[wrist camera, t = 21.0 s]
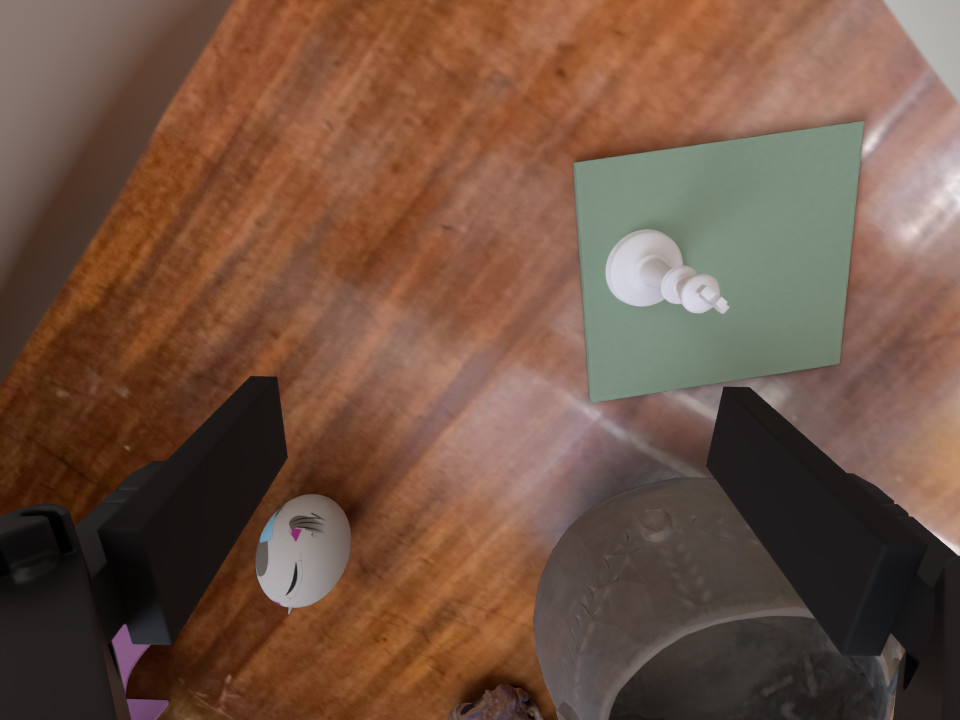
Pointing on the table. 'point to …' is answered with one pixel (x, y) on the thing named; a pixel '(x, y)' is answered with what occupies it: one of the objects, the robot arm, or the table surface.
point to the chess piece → (659, 274)
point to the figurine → (303, 551)
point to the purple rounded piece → (498, 706)
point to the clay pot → (689, 620)
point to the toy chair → (127, 656)
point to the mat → (722, 257)
